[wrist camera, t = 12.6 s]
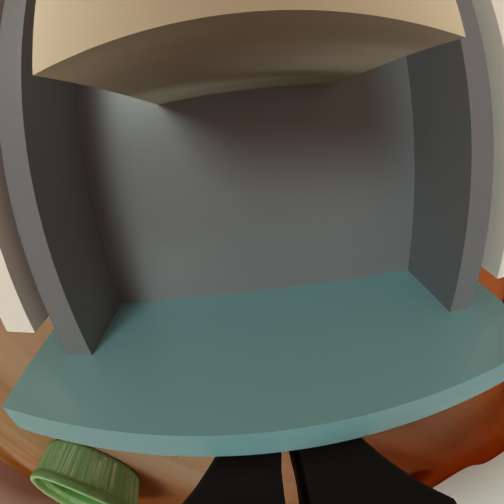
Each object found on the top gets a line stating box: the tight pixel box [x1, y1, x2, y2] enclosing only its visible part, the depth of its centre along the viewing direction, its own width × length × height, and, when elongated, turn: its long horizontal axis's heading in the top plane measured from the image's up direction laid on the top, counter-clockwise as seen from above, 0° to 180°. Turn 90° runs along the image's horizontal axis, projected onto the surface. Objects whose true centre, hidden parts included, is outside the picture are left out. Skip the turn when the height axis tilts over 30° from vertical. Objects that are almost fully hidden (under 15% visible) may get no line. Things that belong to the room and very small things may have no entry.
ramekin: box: [30, 440, 140, 504], centre depth 15 cm, size 9×9×4 cm
